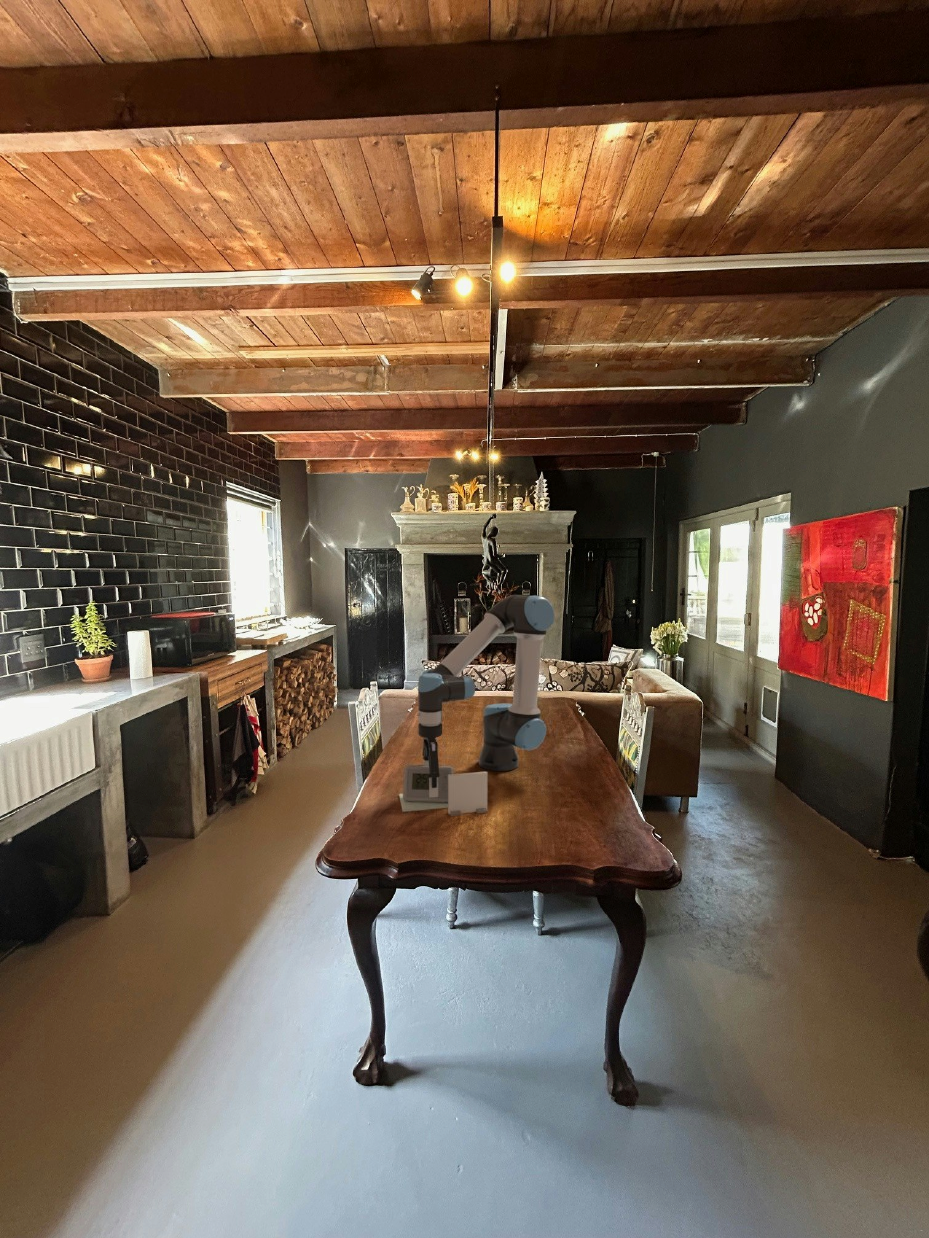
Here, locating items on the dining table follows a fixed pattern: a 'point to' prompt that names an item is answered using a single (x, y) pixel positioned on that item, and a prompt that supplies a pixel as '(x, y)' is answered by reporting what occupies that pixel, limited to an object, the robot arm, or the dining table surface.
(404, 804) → the mat
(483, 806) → the screen
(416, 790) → the digital clock
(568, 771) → the dining table surface
